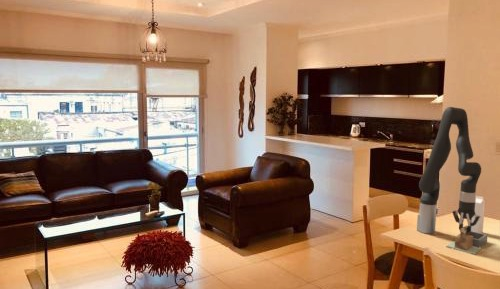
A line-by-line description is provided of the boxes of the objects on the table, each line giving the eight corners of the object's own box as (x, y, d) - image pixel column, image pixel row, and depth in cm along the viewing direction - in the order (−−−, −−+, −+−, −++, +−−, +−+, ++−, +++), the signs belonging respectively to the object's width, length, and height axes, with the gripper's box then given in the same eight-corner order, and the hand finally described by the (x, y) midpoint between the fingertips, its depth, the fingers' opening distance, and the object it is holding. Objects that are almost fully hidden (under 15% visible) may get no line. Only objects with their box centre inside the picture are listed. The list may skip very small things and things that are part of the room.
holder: (458, 242, 227) (459, 235, 227) (467, 236, 236) (467, 230, 235) (478, 247, 220) (479, 240, 219) (487, 241, 228) (487, 234, 227)
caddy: (454, 247, 218) (455, 227, 217) (460, 243, 224) (462, 224, 222) (466, 250, 214) (468, 230, 212) (472, 246, 219) (474, 227, 218)
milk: (478, 234, 239) (481, 198, 236) (467, 231, 244) (470, 195, 241) (482, 232, 243) (485, 196, 240) (472, 229, 248) (475, 194, 244)
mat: (446, 246, 221) (446, 245, 221) (453, 242, 227) (453, 241, 227) (474, 254, 210) (474, 253, 210) (481, 249, 217) (481, 248, 217)
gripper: (450, 198, 218) (448, 229, 220) (479, 204, 208) (476, 236, 210) (456, 196, 223) (453, 226, 225) (484, 201, 213) (481, 233, 215)
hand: (464, 231), depth 218 cm, fingers open, 3 cm apart
